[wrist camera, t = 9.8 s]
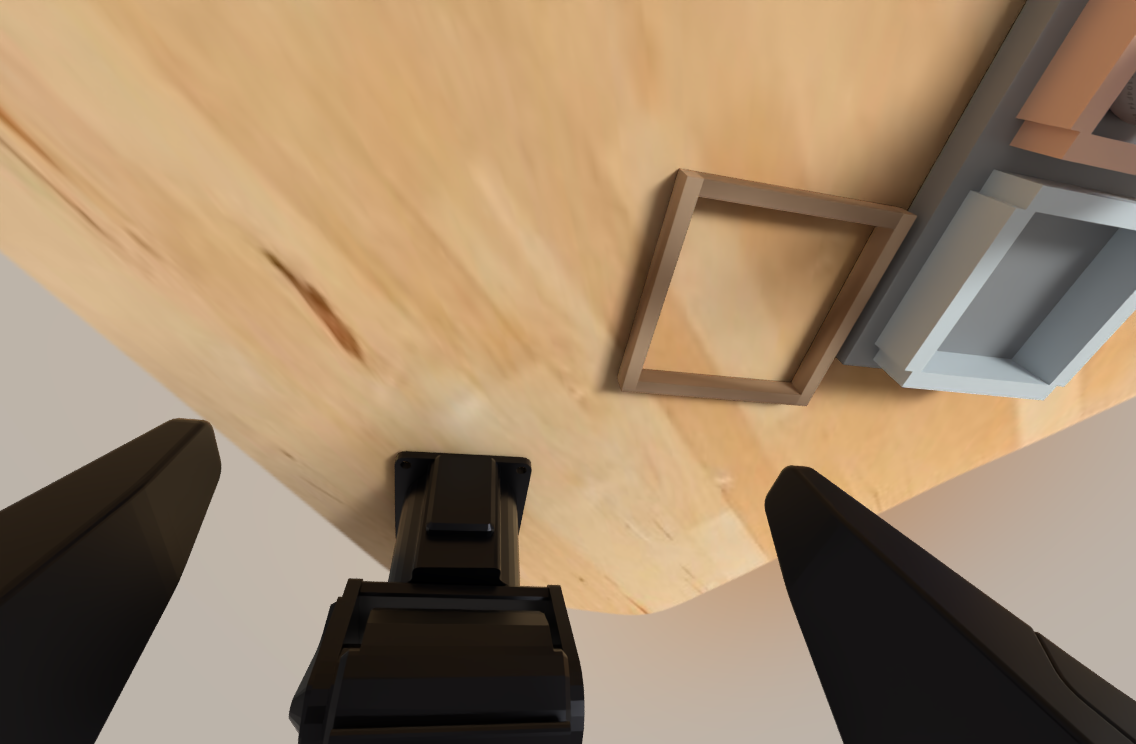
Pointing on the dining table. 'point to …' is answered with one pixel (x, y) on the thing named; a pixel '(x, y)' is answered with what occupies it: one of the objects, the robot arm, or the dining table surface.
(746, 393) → the tray
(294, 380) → the dining table surface
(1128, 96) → the pill bottle
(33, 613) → the robot arm
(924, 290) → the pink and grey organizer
